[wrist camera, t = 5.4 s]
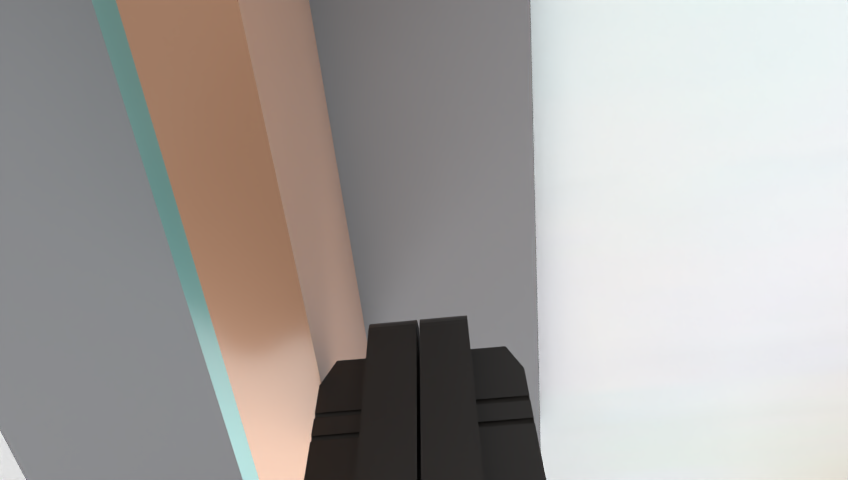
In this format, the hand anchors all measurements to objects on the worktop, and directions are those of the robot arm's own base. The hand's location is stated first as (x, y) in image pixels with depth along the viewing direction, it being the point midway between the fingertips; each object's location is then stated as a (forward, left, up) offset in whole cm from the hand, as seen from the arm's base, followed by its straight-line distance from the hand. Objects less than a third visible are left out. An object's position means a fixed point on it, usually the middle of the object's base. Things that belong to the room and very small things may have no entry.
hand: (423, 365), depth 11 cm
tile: (0, -2, -4) cm, 4 cm away
